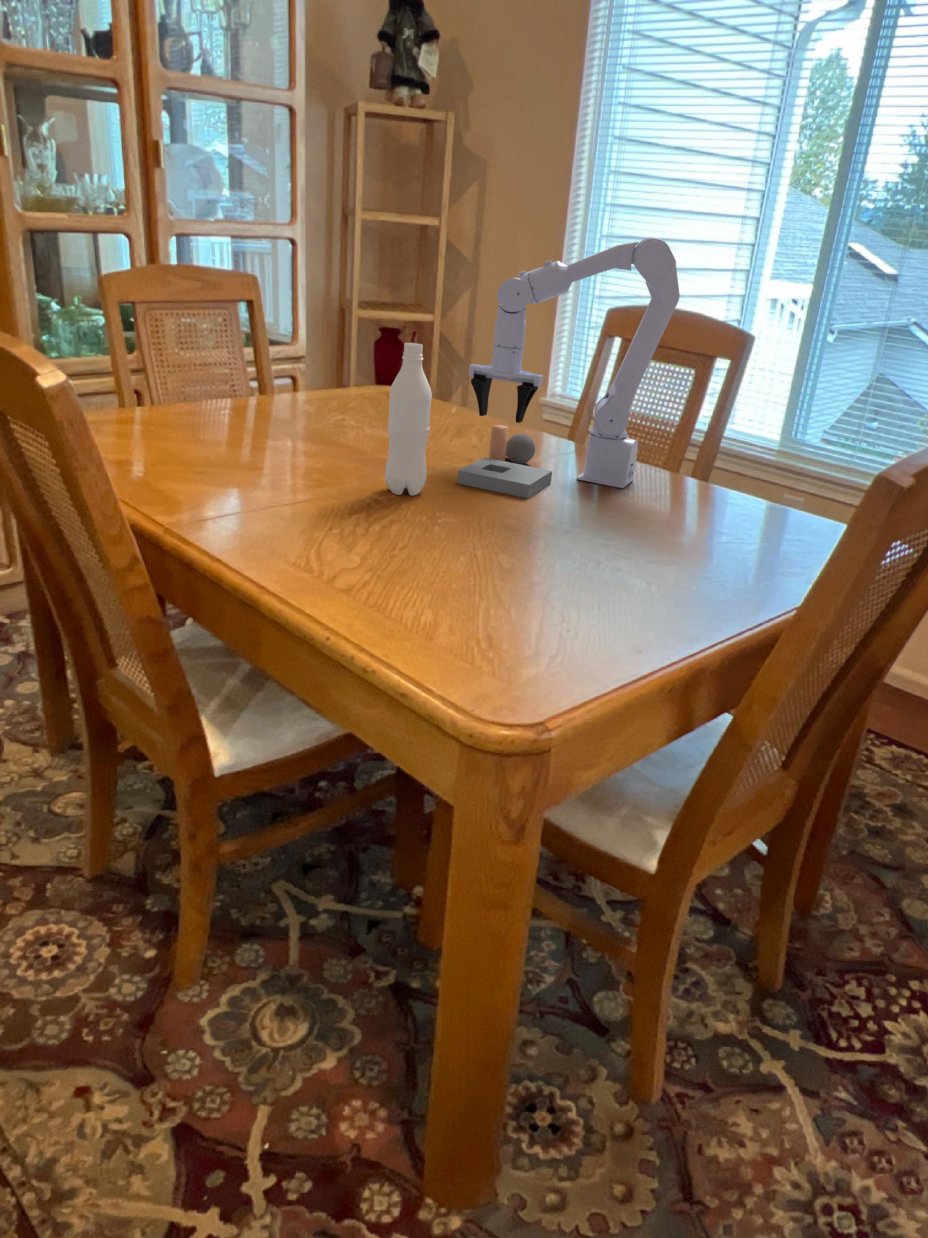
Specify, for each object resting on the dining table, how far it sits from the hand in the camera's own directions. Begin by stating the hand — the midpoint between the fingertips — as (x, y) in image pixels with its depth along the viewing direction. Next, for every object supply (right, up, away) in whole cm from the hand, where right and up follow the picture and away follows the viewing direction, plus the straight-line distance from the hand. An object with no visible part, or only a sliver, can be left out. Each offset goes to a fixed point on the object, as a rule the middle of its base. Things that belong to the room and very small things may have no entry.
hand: (500, 418), depth 172 cm
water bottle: (-18, -17, -16) cm, 29 cm away
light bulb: (0, -3, +13) cm, 13 cm away
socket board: (0, -14, -6) cm, 15 cm away
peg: (-1, -9, +4) cm, 10 cm away
